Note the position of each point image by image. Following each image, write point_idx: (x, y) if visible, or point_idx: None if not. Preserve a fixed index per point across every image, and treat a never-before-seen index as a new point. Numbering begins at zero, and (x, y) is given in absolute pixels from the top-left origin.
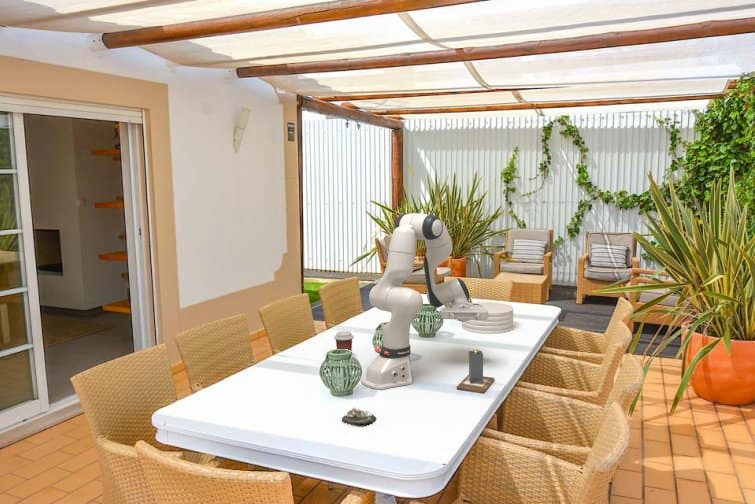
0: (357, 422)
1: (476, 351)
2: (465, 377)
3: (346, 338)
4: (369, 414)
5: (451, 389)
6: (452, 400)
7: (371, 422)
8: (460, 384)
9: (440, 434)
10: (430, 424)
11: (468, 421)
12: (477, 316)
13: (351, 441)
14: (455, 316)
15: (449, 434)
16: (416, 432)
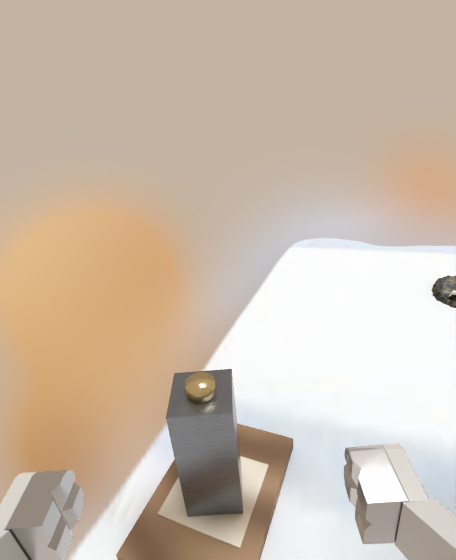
0: (453, 276)
1: (200, 373)
2: (257, 554)
3: None
4: (452, 291)
5: (311, 448)
6: (297, 375)
7: (433, 286)
8: (279, 460)
9: (303, 279)
10: (325, 295)
11: (258, 307)
12: (40, 473)
13: (427, 259)
14: (357, 450)
15: (289, 280)
16: (342, 279)
